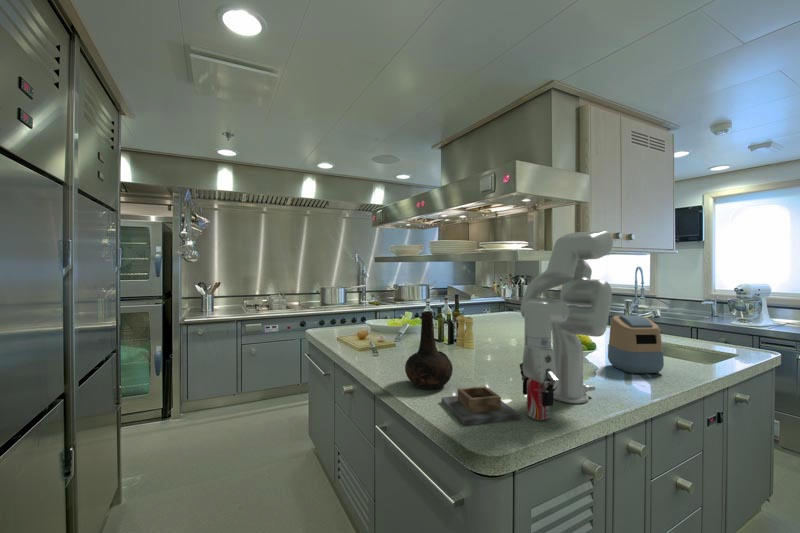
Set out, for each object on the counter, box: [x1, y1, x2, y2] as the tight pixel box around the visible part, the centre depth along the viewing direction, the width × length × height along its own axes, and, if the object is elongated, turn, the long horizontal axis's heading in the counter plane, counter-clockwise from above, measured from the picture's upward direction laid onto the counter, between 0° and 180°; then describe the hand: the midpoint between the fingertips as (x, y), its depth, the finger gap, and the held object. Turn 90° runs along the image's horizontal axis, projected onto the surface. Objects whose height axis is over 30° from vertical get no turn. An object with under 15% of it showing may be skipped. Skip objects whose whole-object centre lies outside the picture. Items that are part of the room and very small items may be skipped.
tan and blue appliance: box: [607, 315, 665, 374], centre depth 153 cm, size 17×17×23 cm
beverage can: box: [526, 377, 550, 421], centre depth 104 cm, size 6×6×12 cm
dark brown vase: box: [404, 311, 454, 390], centre depth 133 cm, size 18×18×28 cm
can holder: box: [441, 385, 521, 426], centre depth 110 cm, size 18×18×6 cm
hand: (537, 399), depth 104 cm, fingers open, 9 cm apart
